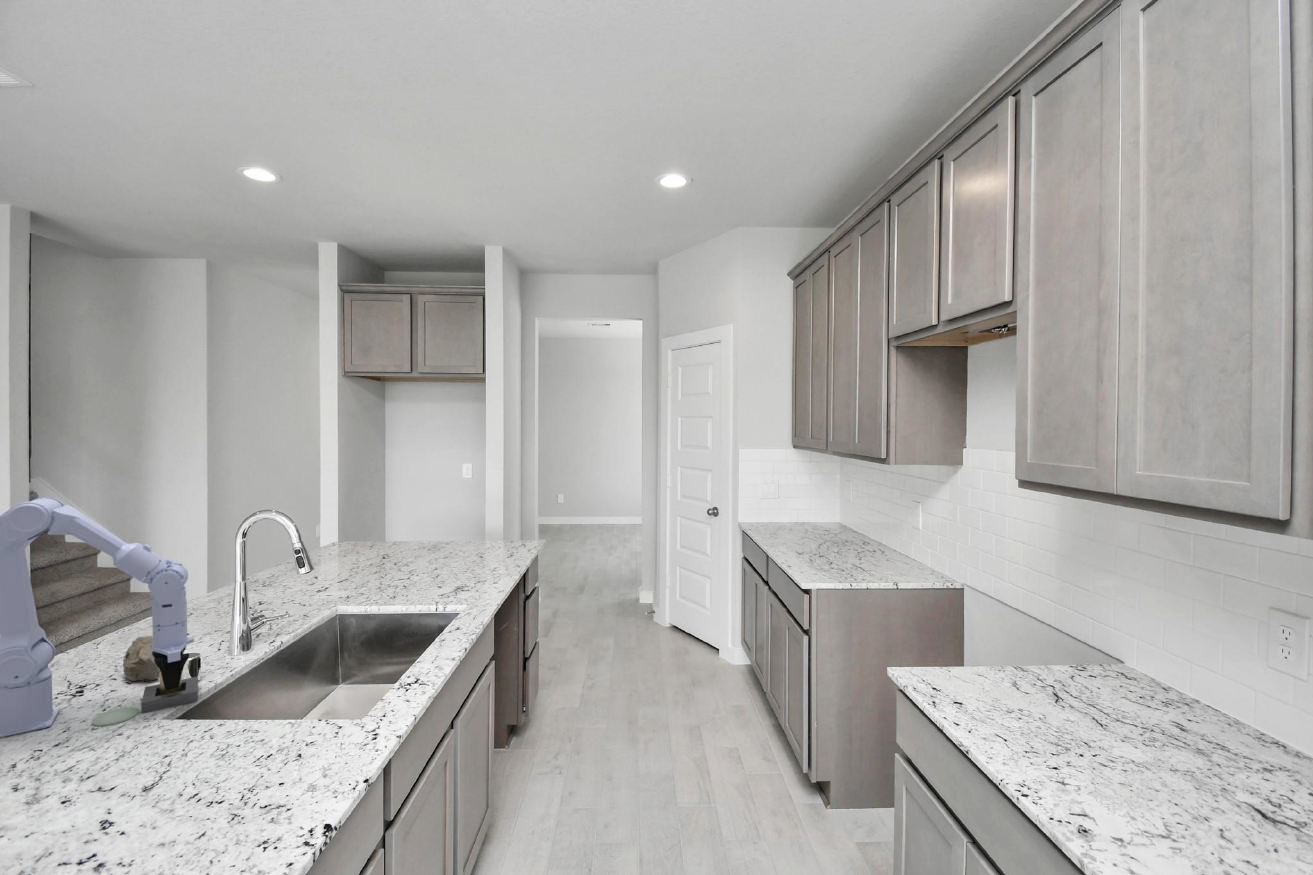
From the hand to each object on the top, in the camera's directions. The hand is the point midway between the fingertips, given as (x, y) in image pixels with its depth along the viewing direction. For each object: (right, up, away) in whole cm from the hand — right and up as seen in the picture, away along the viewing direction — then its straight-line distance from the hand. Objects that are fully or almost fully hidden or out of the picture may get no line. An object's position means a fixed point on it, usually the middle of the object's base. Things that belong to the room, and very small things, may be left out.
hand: (170, 685), depth 127 cm
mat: (-5, -3, -8) cm, 10 cm away
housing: (0, -3, 0) cm, 3 cm away
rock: (-16, -3, +11) cm, 20 cm away
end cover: (0, -3, 0) cm, 3 cm away
